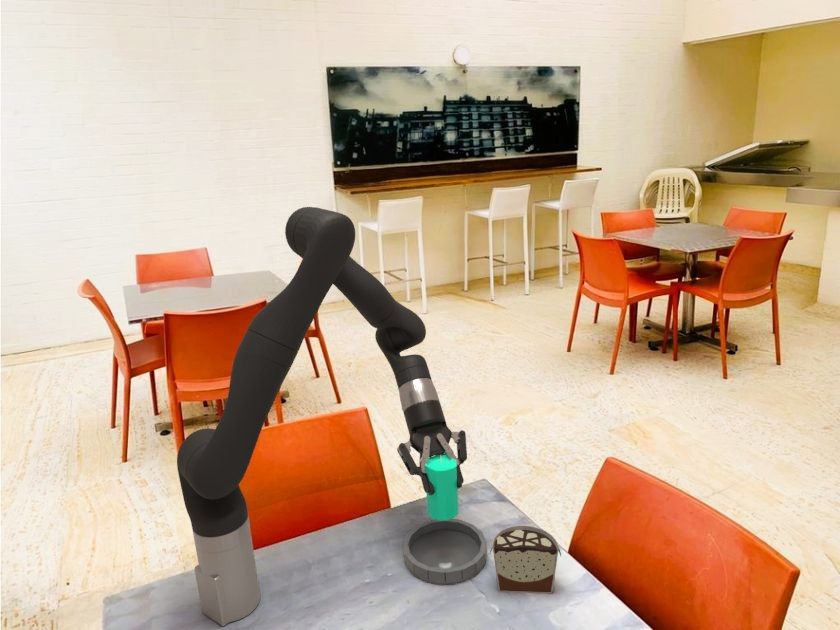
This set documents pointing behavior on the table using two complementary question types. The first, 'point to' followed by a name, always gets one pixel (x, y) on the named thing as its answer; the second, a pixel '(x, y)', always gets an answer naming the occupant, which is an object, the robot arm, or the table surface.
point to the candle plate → (445, 551)
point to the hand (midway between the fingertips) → (445, 490)
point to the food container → (525, 560)
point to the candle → (442, 487)
